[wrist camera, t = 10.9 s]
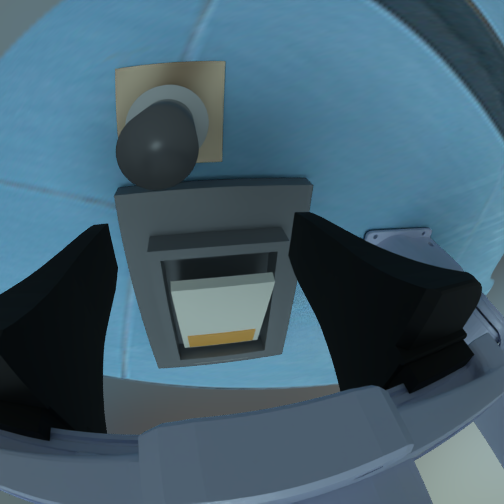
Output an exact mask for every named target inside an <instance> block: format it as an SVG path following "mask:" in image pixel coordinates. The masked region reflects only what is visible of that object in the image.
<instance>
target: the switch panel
mask: <svg viewBox="0 0 504 504" xmlns="http://www.w3.org/2000/svg"><path fill="white" fill-rule="evenodd" d="M312 190H313V184H311V183H310V182H309V181H308V180H307V179H306V178H250V179H222V180H202V181H186V182H180V183H178V184H177V185H175V186H173V187H170V188H167V189H162V190H150V189H145V188H141V187H139V186H129V187H120V188H118V189H117V191H116V193H115V195H114V198H115V204H116V210H117V216H118V221H119V226H120V231H121V236H122V241H123V246H124V251H125V255H126V259H127V264H128V268H129V272H130V276H131V280H132V284H133V288H134V292H135V295H136V299H137V302H138V306H139V309H140V313H141V316H142V320H143V323H144V326H145V329H146V333H147V336H148V339H149V342H150V345H151V348H152V351H153V354H154V357H155V359H156V362H157V365H158V368H173V367H186V366H197V365H207V364H217V363H225V362H233V361H241V360H248V359H255V358H261V357H268V356H274V355H280V354H282V352H283V347H284V343H285V338H286V333H287V329H288V324H289V319H290V314H291V309H292V304H293V300H294V294H295V289H296V284H297V278H296V276H295V274H294V271H293V268H292V266H291V262H290V259H289V256H288V253H289V247H290V240H291V233H292V227H293V220H294V213H295V212H309V210H310V203H311V197H312ZM269 272H273V276H274V279H275V284H274V287H273V291H272V294H271V297H270V300H269V304H268V307H267V310H266V313H265V316H264V320H263V323H262V326H261V329H260V332H259V336H258V339H257V340H251V341H243V342H236V343H227V344H219V345H209V346H199V347H188V348H185V346H184V343H183V339H182V335H181V331H180V327H179V324H178V320H177V315H176V311H175V307H174V303H173V299H172V294H171V282H170V281H182V280H194V279H205V278H217V277H228V276H238V275H249V274H259V273H269Z"/></svg>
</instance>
